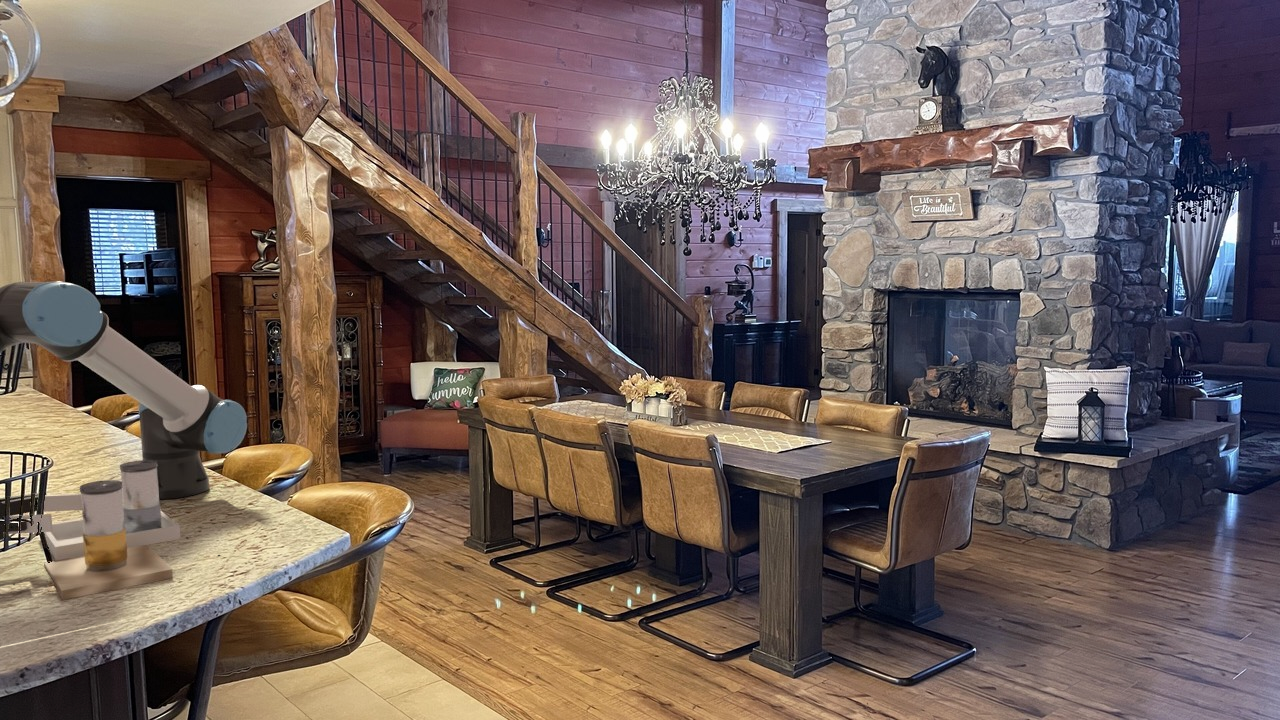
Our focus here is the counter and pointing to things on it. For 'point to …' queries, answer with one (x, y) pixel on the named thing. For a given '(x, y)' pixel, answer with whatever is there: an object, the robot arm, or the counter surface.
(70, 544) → the white shaker tray
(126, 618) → the counter surface
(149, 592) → the counter surface
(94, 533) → the lidded honey jar
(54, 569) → the board
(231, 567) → the counter surface
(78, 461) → the counter surface
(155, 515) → the clear grey lidded jar
